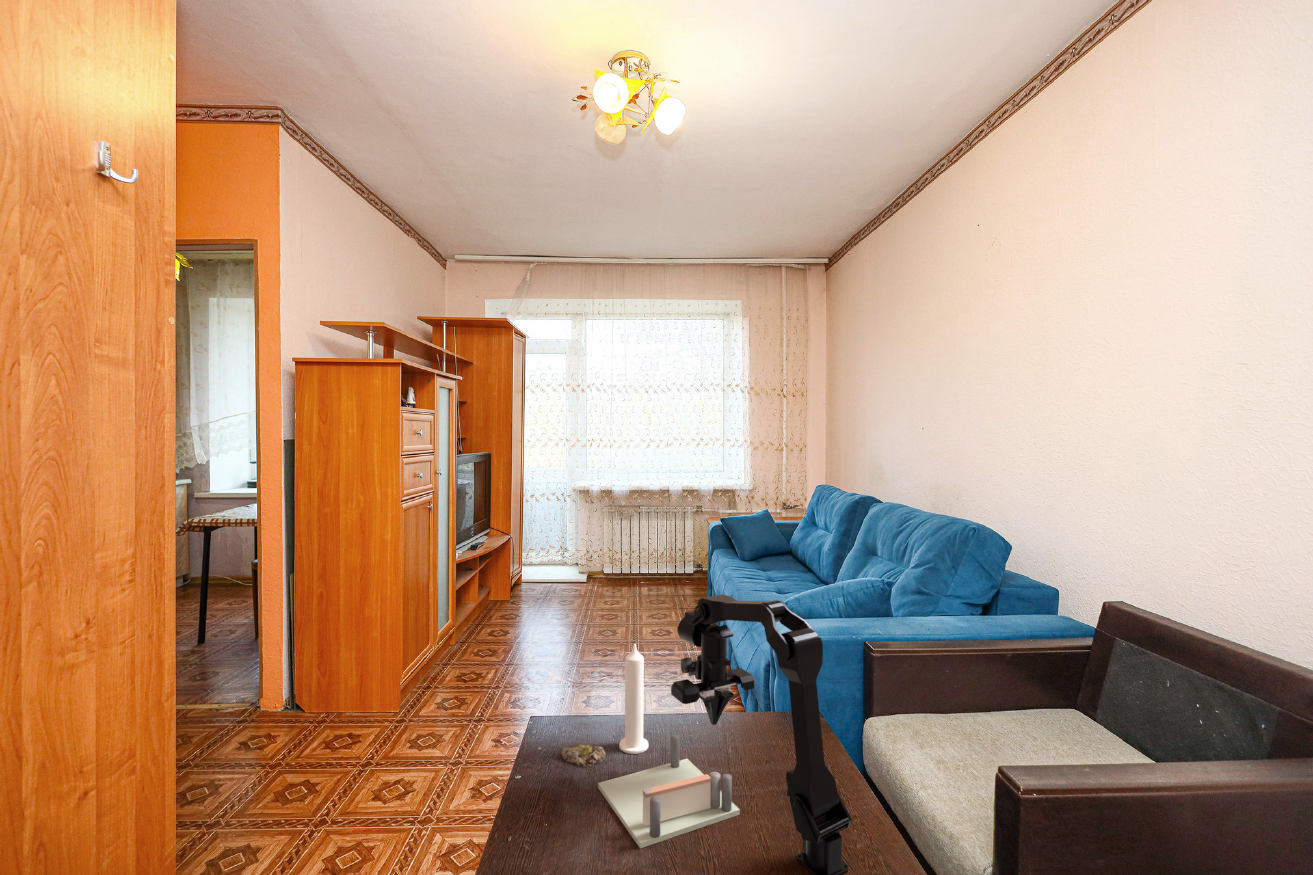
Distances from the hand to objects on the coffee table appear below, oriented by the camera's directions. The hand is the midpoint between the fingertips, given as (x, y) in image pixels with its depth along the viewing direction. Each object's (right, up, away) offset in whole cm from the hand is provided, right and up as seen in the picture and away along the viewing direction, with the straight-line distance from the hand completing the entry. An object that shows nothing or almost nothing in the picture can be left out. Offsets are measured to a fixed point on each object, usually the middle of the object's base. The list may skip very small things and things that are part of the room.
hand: (713, 723), depth 130 cm
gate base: (-11, -12, -8) cm, 18 cm away
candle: (-18, -12, +13) cm, 25 cm away
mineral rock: (-30, -12, +8) cm, 33 cm away
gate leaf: (-7, -11, -14) cm, 19 cm away
